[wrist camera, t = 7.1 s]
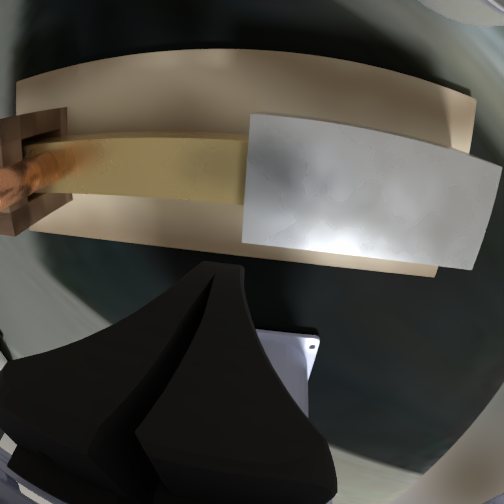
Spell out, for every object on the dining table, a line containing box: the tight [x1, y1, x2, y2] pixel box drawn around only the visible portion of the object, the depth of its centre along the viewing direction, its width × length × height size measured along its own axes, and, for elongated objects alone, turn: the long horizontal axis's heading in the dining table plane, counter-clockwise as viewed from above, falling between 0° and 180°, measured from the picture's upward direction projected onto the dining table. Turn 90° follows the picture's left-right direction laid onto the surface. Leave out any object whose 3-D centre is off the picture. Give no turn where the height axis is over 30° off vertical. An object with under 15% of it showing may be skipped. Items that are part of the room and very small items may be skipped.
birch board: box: [16, 49, 477, 277], centre depth 18 cm, size 13×33×1 cm, turn 86°
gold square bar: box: [0, 131, 249, 211], centre depth 13 cm, size 3×19×8 cm, turn 86°
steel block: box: [242, 111, 502, 270], centre depth 15 cm, size 6×12×6 cm, turn 86°
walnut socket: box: [0, 107, 73, 236], centre depth 16 cm, size 7×5×6 cm
